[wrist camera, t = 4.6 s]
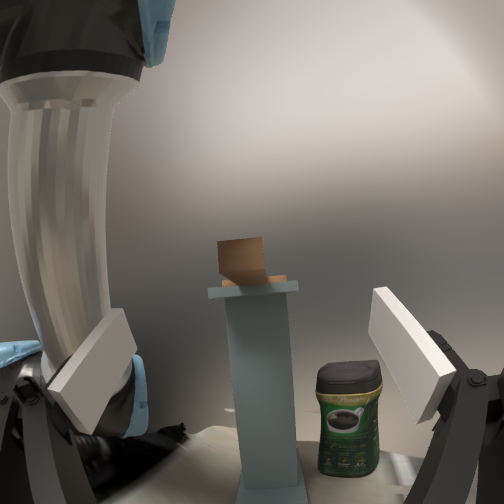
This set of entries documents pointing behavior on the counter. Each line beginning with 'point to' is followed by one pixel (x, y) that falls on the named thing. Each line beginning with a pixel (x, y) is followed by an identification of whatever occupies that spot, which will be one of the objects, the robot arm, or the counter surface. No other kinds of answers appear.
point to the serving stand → (263, 392)
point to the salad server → (244, 263)
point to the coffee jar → (349, 417)
